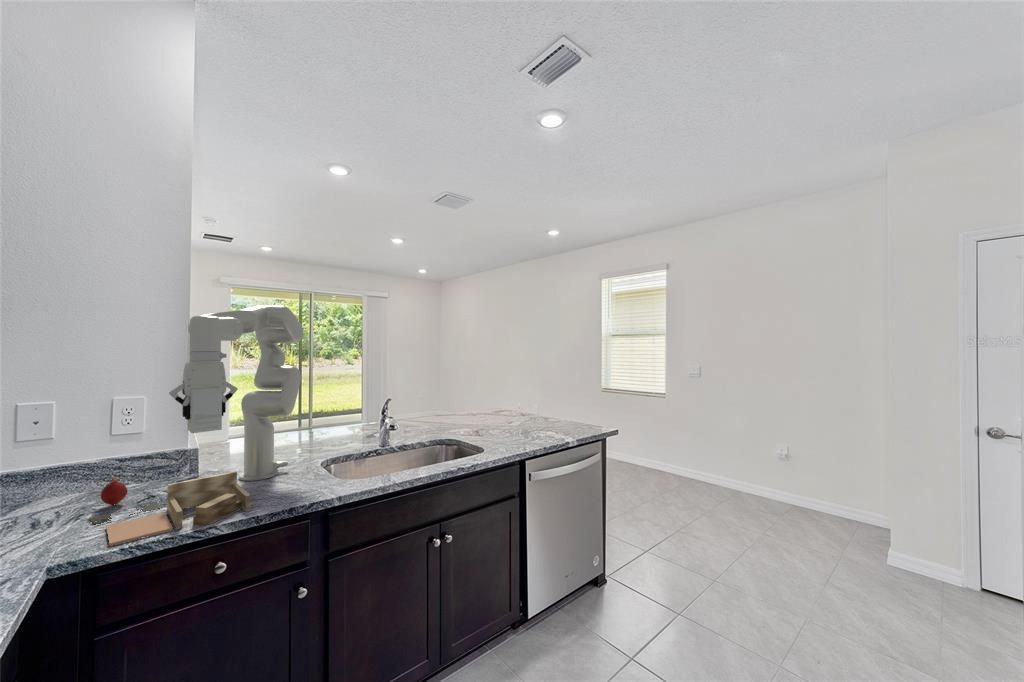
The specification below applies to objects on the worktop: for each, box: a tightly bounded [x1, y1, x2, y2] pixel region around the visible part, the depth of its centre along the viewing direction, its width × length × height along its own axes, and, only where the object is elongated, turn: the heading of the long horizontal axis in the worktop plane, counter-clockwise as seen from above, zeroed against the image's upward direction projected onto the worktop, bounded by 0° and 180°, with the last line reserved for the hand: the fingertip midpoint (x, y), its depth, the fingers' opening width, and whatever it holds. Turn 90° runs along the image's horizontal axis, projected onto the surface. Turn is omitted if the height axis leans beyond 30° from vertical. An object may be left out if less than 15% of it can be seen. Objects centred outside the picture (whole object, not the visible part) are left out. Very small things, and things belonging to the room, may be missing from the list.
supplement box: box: [187, 387, 223, 434], centre depth 122 cm, size 7×7×13 cm
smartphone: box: [87, 502, 163, 525], centre depth 119 cm, size 7×1×15 cm
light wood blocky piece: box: [166, 471, 252, 530], centre depth 122 cm, size 17×16×8 cm
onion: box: [100, 478, 129, 506], centre depth 125 cm, size 6×6×8 cm
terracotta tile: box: [105, 512, 174, 548], centre depth 109 cm, size 12×14×1 cm
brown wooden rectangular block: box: [192, 494, 242, 527], centre depth 118 cm, size 12×4×5 cm, turn 169°
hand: (204, 416), depth 122 cm, fingers closed on supplement box, 7 cm apart
